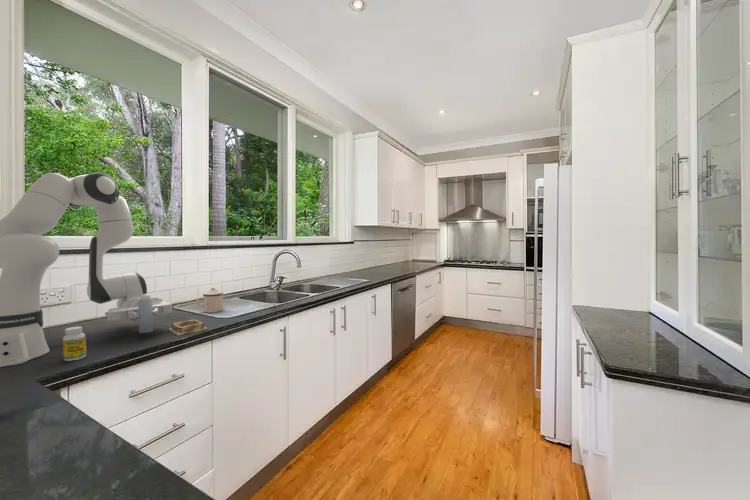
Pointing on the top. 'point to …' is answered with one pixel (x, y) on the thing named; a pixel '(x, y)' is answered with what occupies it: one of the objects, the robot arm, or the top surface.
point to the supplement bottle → (74, 344)
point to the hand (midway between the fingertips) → (146, 314)
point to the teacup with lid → (212, 301)
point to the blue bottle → (145, 313)
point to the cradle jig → (187, 327)
